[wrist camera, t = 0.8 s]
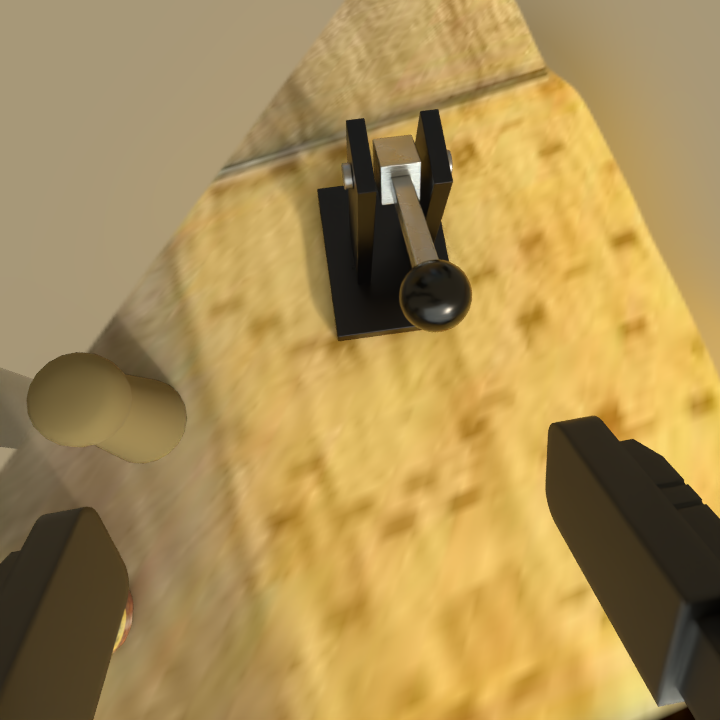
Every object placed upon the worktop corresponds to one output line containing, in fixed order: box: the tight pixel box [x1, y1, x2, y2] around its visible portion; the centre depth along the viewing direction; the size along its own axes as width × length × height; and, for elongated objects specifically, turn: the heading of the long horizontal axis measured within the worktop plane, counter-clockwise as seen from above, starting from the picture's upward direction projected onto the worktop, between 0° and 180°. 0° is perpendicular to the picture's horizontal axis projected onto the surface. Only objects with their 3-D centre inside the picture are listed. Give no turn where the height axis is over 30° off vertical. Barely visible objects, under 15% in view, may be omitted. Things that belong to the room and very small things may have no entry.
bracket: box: [317, 109, 458, 341], centre depth 35 cm, size 12×9×14 cm
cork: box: [27, 352, 187, 464], centre depth 34 cm, size 6×6×11 cm
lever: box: [373, 135, 472, 332], centre depth 27 cm, size 13×3×3 cm, turn 8°
